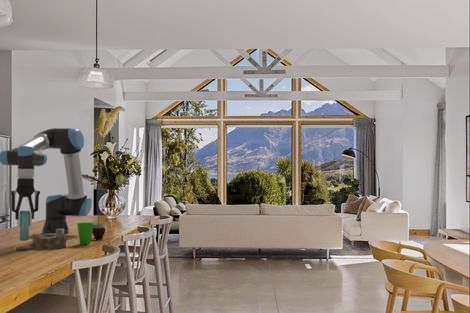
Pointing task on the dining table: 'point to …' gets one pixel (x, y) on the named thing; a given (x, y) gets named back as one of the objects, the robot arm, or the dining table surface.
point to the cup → (85, 232)
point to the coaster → (23, 248)
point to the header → (50, 240)
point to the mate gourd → (98, 230)
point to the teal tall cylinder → (24, 225)
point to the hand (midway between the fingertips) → (24, 226)
